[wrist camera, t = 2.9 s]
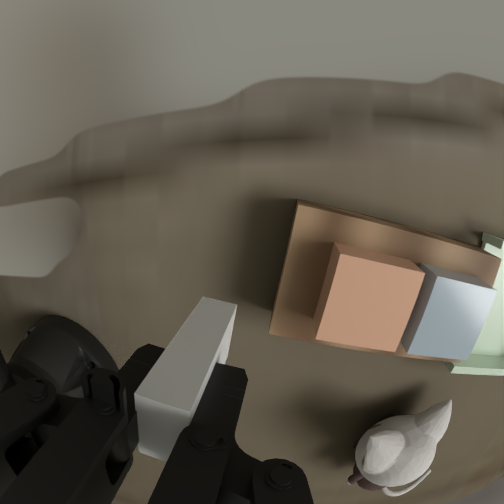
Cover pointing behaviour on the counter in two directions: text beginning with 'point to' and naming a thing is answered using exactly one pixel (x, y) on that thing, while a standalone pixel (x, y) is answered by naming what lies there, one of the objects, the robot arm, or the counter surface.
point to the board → (365, 237)
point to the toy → (399, 449)
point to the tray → (488, 325)
